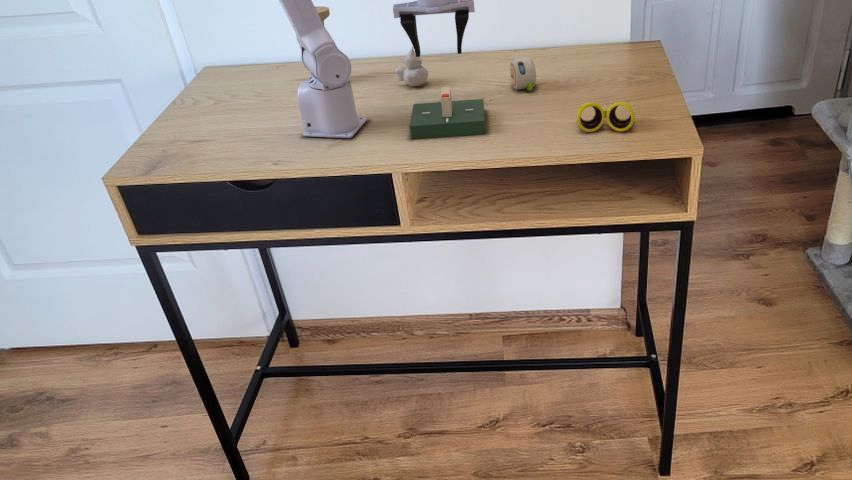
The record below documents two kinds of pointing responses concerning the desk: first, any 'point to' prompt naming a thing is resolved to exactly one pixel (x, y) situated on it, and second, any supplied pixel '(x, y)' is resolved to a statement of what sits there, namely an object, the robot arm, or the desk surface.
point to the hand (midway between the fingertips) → (439, 53)
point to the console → (448, 119)
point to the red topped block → (446, 102)
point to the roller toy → (523, 73)
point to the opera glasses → (602, 114)
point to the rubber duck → (412, 70)
